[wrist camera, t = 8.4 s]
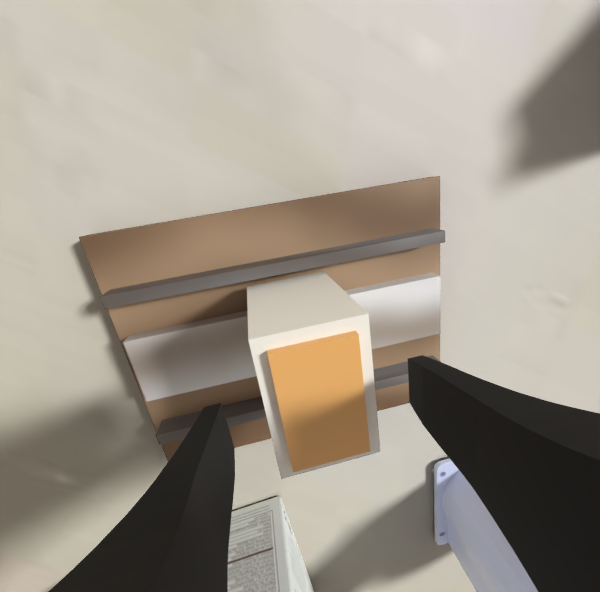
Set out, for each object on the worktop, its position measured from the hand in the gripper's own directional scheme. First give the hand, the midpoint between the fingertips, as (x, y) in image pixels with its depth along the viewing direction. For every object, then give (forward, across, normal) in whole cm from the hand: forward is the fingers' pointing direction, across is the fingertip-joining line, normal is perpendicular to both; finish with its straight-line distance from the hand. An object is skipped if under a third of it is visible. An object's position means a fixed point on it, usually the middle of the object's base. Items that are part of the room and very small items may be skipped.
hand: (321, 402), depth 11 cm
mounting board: (+7, 0, 0) cm, 7 cm away
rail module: (+6, 0, 0) cm, 6 cm away
